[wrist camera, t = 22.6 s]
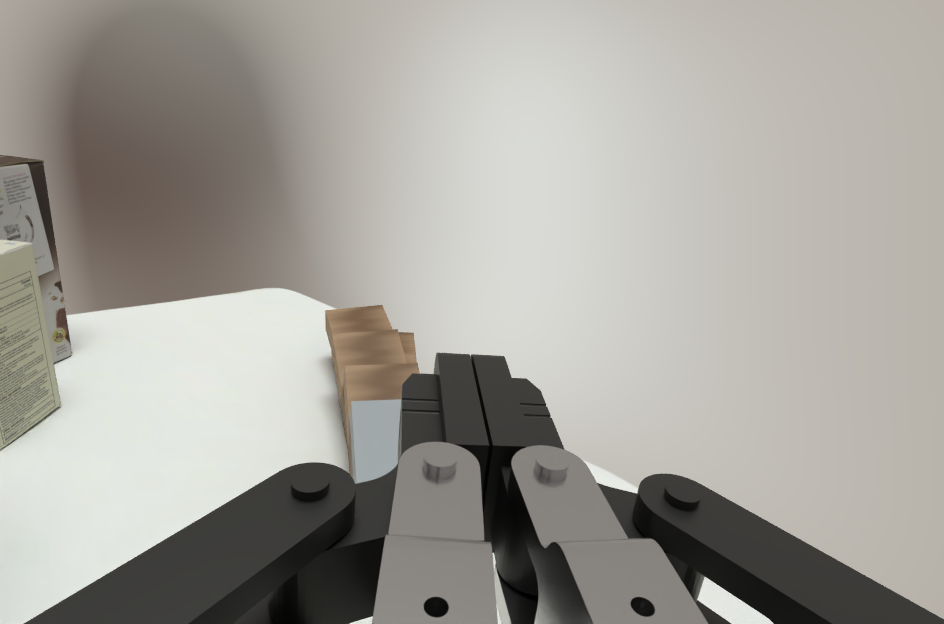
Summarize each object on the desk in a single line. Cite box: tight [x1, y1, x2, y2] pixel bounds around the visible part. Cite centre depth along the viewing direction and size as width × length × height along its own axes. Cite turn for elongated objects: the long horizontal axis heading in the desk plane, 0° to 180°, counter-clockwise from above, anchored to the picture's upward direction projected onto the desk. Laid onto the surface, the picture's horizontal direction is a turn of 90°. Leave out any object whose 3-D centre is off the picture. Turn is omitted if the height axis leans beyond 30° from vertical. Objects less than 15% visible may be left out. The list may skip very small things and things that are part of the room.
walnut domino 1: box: [325, 305, 393, 349], centre depth 50 cm, size 5×2×10 cm
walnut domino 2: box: [331, 329, 407, 446], centre depth 44 cm, size 5×2×10 cm
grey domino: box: [350, 399, 401, 484], centre depth 34 cm, size 5×2×10 cm
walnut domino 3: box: [343, 363, 419, 478], centre depth 39 cm, size 5×2×10 cm
